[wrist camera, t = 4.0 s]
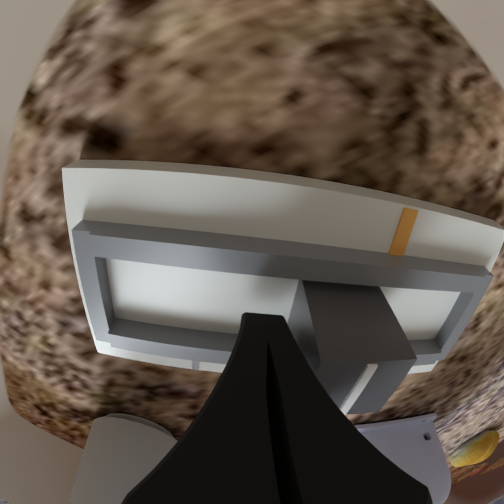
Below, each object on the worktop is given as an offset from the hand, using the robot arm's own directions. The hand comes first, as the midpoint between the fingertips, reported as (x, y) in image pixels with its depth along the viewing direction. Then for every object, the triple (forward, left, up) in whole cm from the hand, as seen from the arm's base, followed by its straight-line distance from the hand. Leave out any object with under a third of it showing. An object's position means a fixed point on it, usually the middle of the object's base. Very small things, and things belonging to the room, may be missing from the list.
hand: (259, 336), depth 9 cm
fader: (-3, 0, -2) cm, 3 cm away
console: (-2, 0, -3) cm, 3 cm away
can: (+7, +16, -3) cm, 18 cm away
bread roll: (-37, +27, -3) cm, 46 cm away
